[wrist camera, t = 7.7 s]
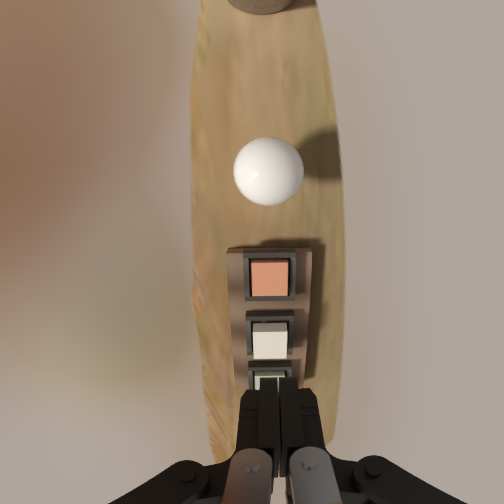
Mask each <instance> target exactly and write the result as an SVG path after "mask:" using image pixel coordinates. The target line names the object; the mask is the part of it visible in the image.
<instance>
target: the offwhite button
mask: <svg viewBox="0 0 504 504" xmlns="http://www.w3.org/2000/svg"><path fill="white" fill-rule="evenodd" d="M253 352H254V359H285V358H286V355H287V324H286V323H253Z"/></svg>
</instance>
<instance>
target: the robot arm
mask: <svg viewBox="0 0 504 504" xmlns="http://www.w3.org/2000/svg"><path fill="white" fill-rule="evenodd" d="M228 1H229V3H231V4H232V5H233V6H234V7H235V8H237V9H239V10H241V11H244V12H247V13H252V14H271V13H275V12H278V11H281V10H283V9H285V8H286V7H288V6H289V5H290V4H291V3H292V2H293V1H294V0H228ZM278 470H280V477H286V490H285V497H286V504H467V503H465V502H463V501H460V500H459V499H457V498H455V497H453V496H451V495H448V494H447V493H445V492H443V491H441V490H439V489H437V488H435V487H433V486H432V485H430V484H428V483H426V482H424V481H423V480H421V479H419V478H417V477H416V476H414V475H412V474H410V473H409V472H407V471H405V470H404V469H402V468H400V467H398V466H397V465H395V464H394V463H392V462H390V461H389V460H387V459H386V458H384V457H381V456H376V455H372V456H367V457H364V458H362V459H361V460H359V461H358V462H355V461H347V460H341V459H338V458H335V457H334V456H332V455H331V454H330V453H329V452H328V451H327V450H326V448H325V444H324V439H323V432H322V427H321V421H320V416H319V409H318V403H317V398H316V396H315V394H314V393H313V392H312V390H311V389H310V388H302V389H298V382H297V377H279V386H278V377H260V390H246V392H245V393H244V394H243V396H242V397H241V401H240V412H239V422H238V432H237V442H236V450H235V452H234V454H233V455H232V456H231V457H230V458H229V459H228V460H226V461H224V462H222V463H219V464H214V465H209V466H203V465H201V464H200V463H198V462H195V461H191V460H184V461H179V462H177V463H175V464H173V465H172V466H170V467H169V468H167V469H166V470H164V471H163V472H161V473H159V474H158V475H156V476H155V477H153V478H152V479H150V480H148V481H147V482H145V483H144V484H142V485H140V486H139V487H137V488H135V489H134V490H132V491H130V492H129V493H127V494H125V495H123V496H121V497H120V498H118V499H116V500H114V501H112V502H111V503H109V504H270V499H271V494H272V492H273V482H274V477H278Z"/></svg>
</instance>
